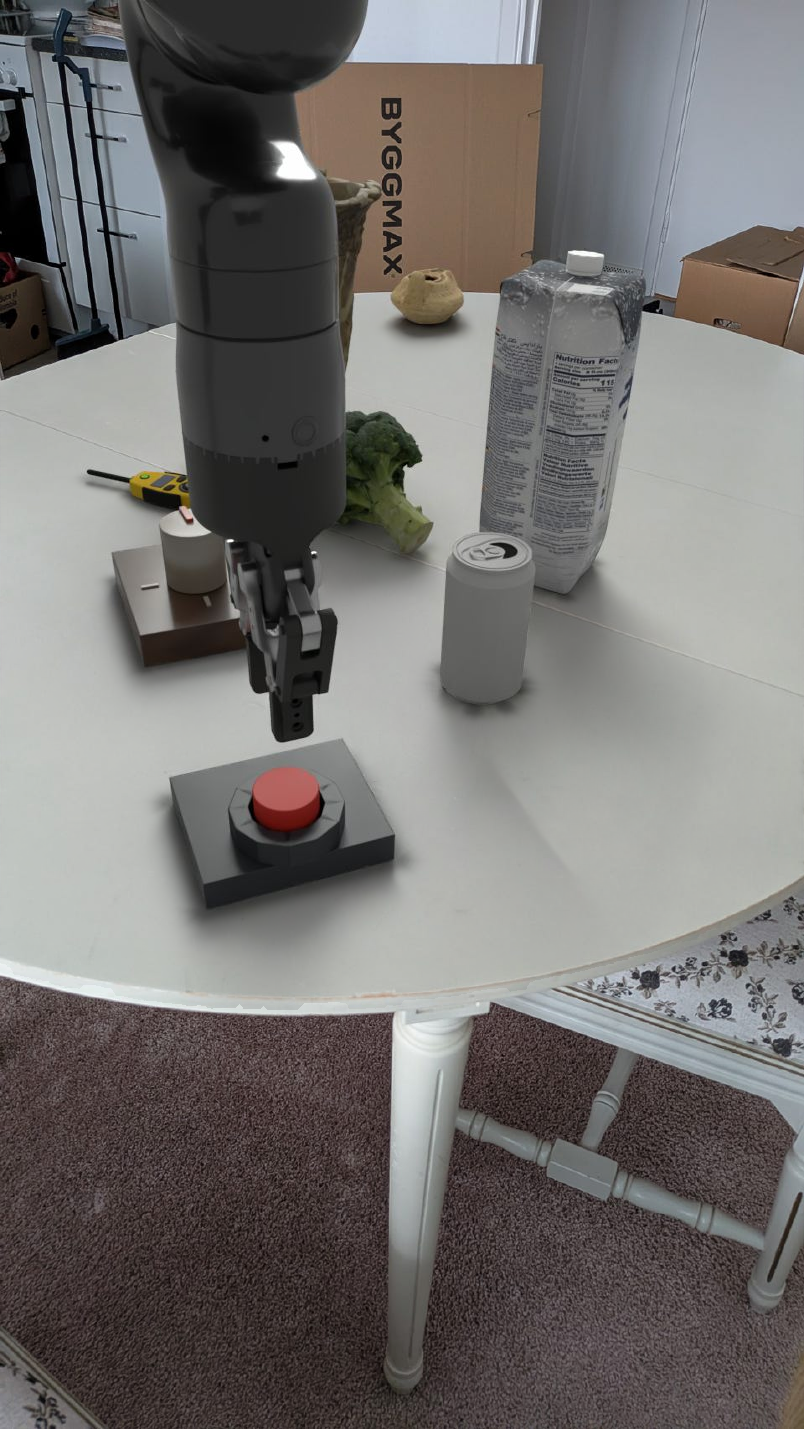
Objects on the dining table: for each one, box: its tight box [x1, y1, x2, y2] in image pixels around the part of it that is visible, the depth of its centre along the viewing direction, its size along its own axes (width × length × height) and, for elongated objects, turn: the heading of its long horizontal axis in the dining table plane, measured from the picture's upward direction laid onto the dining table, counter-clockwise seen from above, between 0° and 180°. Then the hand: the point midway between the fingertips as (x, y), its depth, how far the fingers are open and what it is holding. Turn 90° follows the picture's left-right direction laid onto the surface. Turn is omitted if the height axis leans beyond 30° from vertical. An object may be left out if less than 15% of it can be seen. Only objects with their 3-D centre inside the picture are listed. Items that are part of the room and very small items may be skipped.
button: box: [252, 767, 320, 832], centre depth 60 cm, size 4×4×2 cm
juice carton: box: [478, 250, 647, 595], centre depth 84 cm, size 9×10×27 cm
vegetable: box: [335, 410, 435, 556], centre depth 95 cm, size 12×13×15 cm
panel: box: [111, 543, 250, 668], centre depth 84 cm, size 12×14×3 cm
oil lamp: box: [390, 267, 465, 325], centre depth 150 cm, size 11×15×8 cm
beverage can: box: [439, 531, 535, 706], centre depth 74 cm, size 6×6×12 cm
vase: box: [318, 168, 383, 373], centre depth 107 cm, size 18×18×27 cm
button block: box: [168, 738, 396, 910], centre depth 63 cm, size 12×10×4 cm
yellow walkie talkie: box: [86, 468, 191, 510], centre depth 102 cm, size 5×2×15 cm
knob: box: [158, 506, 227, 594], centre depth 82 cm, size 5×5×6 cm
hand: (281, 710), depth 56 cm, fingers open, 4 cm apart
